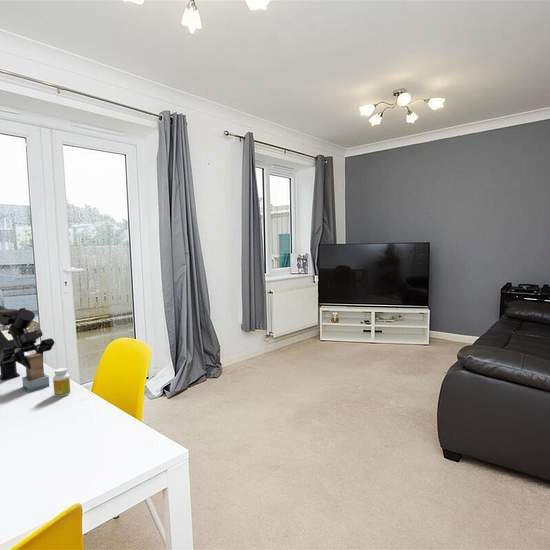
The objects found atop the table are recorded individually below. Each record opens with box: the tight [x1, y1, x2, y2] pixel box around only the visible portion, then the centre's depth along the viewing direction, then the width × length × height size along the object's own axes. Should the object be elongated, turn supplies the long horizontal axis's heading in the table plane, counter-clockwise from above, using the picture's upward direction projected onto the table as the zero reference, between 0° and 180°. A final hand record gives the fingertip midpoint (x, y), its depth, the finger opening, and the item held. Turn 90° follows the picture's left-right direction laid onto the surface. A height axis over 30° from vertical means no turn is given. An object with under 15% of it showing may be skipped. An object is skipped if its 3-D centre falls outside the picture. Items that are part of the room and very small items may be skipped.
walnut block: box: [25, 352, 45, 381], centre depth 151 cm, size 4×4×11 cm
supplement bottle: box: [52, 367, 71, 398], centre depth 144 cm, size 5×5×10 cm
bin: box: [21, 373, 50, 392], centre depth 152 cm, size 7×7×4 cm
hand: (36, 366), depth 150 cm, fingers closed on walnut block, 4 cm apart
